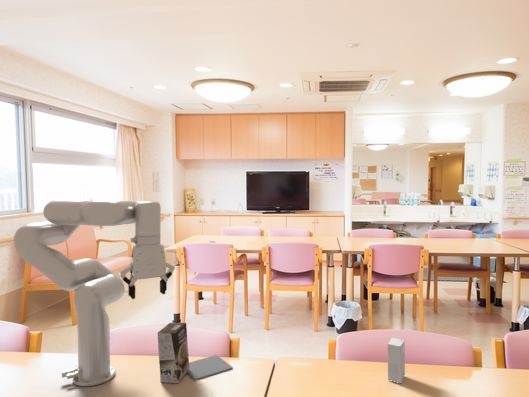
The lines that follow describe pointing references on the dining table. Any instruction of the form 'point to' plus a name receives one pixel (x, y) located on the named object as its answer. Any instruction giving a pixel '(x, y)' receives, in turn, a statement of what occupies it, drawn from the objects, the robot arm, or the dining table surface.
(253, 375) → the dining table surface
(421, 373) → the dining table surface
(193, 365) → the mat
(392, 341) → the skincare box
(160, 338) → the coffee box
